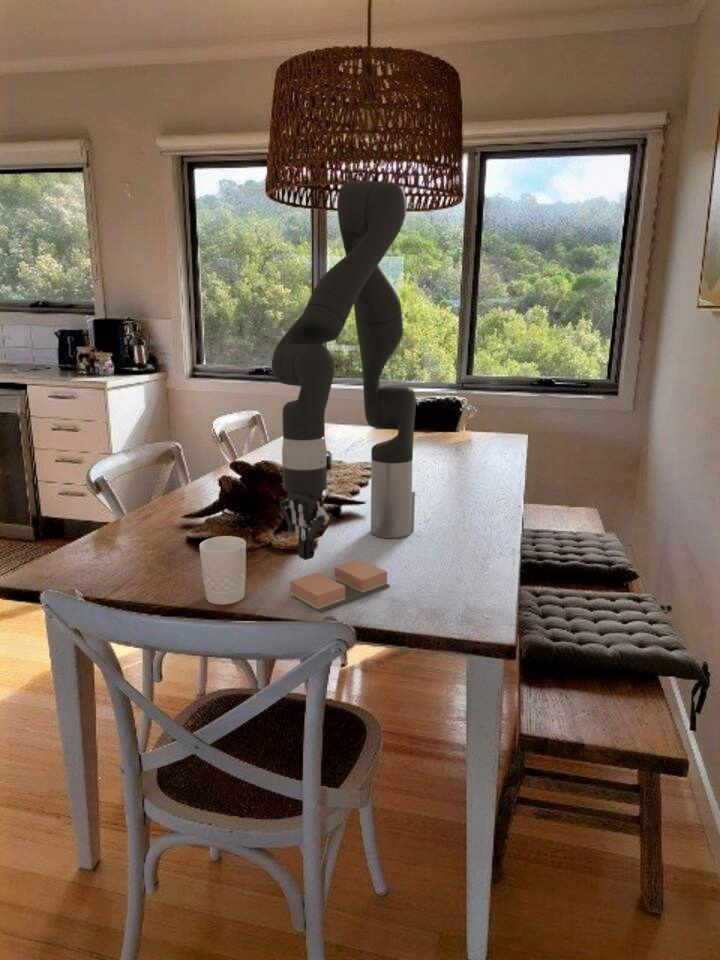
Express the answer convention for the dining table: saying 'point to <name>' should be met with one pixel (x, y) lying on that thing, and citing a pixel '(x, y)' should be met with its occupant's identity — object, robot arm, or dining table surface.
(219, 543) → the white cup
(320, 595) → the tile
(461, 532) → the dining table surface
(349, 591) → the mat
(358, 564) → the tile
